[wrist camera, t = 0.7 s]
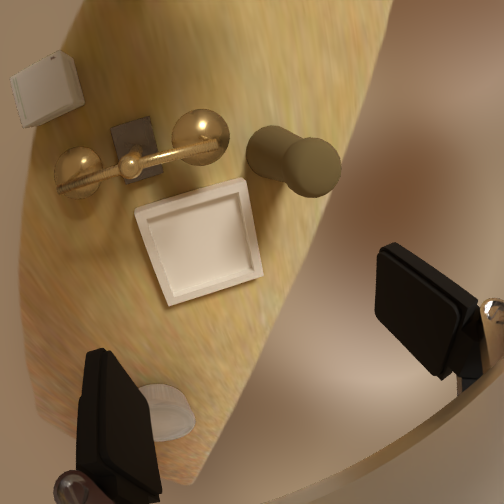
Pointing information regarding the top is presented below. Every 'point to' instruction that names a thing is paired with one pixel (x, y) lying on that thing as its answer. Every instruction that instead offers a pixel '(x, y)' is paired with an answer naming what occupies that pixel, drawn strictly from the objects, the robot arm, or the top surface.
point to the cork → (294, 160)
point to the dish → (201, 240)
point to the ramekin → (168, 412)
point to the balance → (143, 152)
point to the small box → (47, 89)
